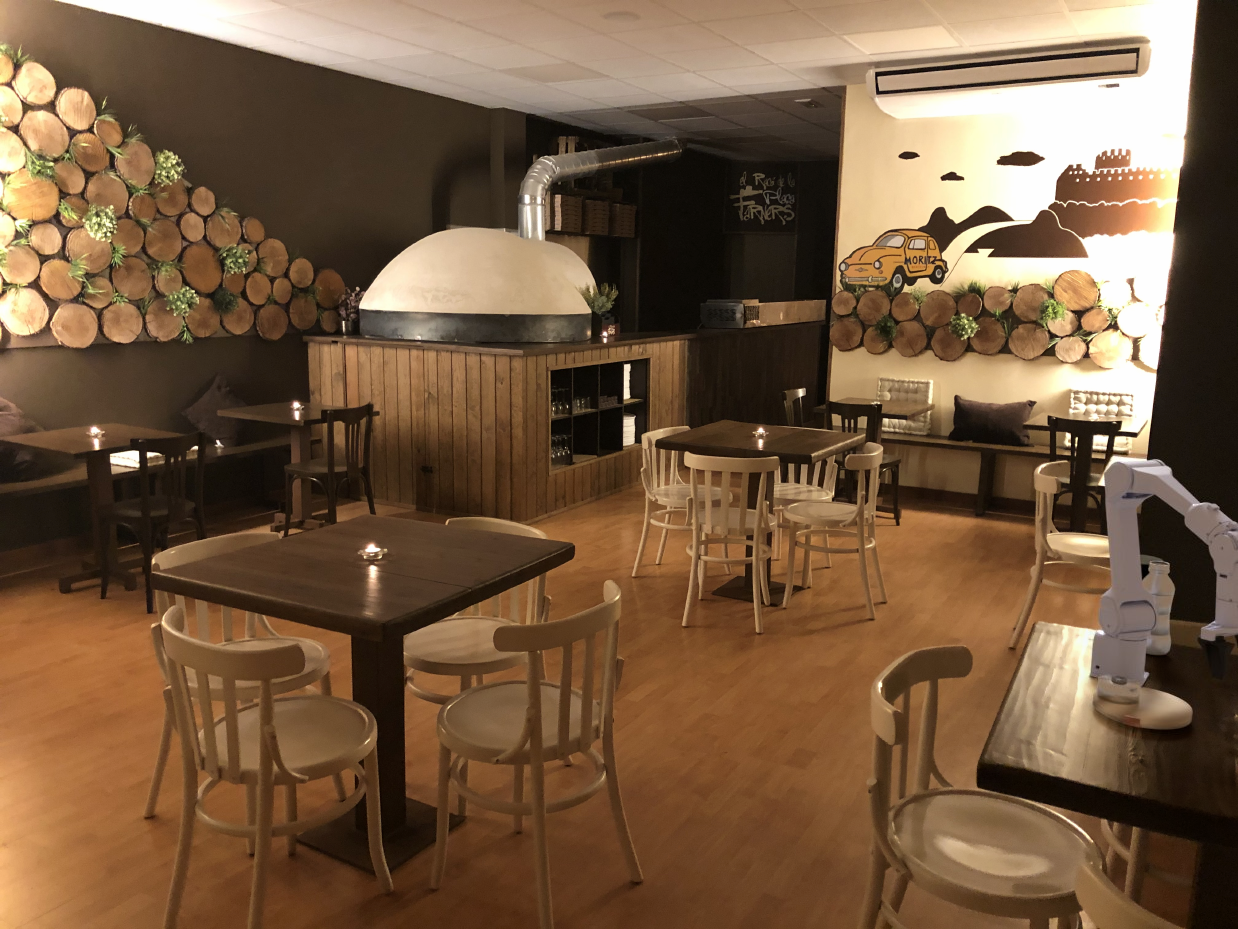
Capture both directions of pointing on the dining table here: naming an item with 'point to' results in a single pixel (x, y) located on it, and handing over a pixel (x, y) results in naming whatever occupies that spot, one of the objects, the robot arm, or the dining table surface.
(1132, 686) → the cover
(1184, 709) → the turntable
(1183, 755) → the dining table surface
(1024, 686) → the dining table surface
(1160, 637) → the plastic bottle
